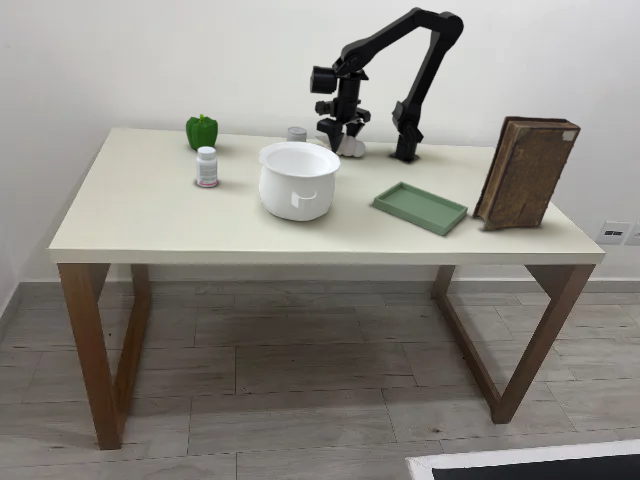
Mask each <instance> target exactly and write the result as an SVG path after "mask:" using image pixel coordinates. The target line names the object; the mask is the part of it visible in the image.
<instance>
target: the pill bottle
mask: <svg viewBox="0 0 640 480" xmlns="http://www.w3.org/2000/svg"><path fill="white" fill-rule="evenodd" d="M195 165H196V167H195V168H196V170H195V171H196V184H197V185H198V186H200V187H203V188H212V187H214V186H216V185H217V184H218V157H216V148H214V147H213V148H212V147H200V148H199V149H198V151H197V157H196V159H195Z"/></svg>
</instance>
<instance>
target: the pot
mask: <svg viewBox="0 0 640 480" xmlns="http://www.w3.org/2000/svg"><path fill="white" fill-rule="evenodd" d="M258 160H259V162H260V164H262V167H261V171H260V177H259V185H258V186H259V189H258V191H259V195H260V201H261V205H262V206H263V208H265V210H266V211H267V212H269V213H270V214H272V215H274V216H276V217H279V218H281V219H286V220H291V221H295V222H296V221H297V222H308V221H312V220H314V219H317V218H319V217H321V216H323V215H324V214H326V213H328V211H329V208H330V206H331V204H332V202H333V199H334V196H335V191H336V175H335V173H336V172H338V171H339V168H340V167H341V164H342V163H341V160H340V157H339V156H338V155H337V153H335V154H334V153H333V152H332V150H330V149H328V148H326V147H324V146H322V145H319V144H316V143H310V142H307V141H306V142H292V141H291V142H286V141H282V142H281V141H280V142H275V143H271V144H269V145H267V146H264V147H263V148H262V149H261V150H260V152H259V153H258Z"/></svg>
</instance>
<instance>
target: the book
mask: <svg viewBox="0 0 640 480" xmlns="http://www.w3.org/2000/svg"><path fill="white" fill-rule="evenodd" d="M581 130H582V128H581V127H580V126H579V125H578V124H575V123H573V122H571V121H570V120H568V119H566V118H557V117H532V116H531V117H528V116H520V115H505V116H504V119H503V122H502V124H501V127H500V130H499V131H500V133H499V137H498V140H497V143H496V146H495V151H494V153H493V157H492V160H491V163H490V165H489V168H488V171H487V174H486V177H485V180H484V183H483V186H482V189H481V191H480V194H479V195H480V196H479V197H478V201H477V202H476V204H475V207H474V209H473V212H472V215H471V217H472V218H473V219H474V218H482V220H483V221H484V224H483V226H482V230H483V231H497V230H504V229H505V230H507V229H517V228H522V229H523V228H525V229H534V228H535V229H536V228H538V227H540V226H542V225H541V224H542V222H543V221H544V220H543V219H544V216H545V214H546V212H547V209H549V204H550V202H551V199H552V197H553V195H554V194H555V189H556V187H557V185H558V182H559V180H560V179H561V175H562V173H563V171H564V169H565V167H566V165H567V164H568V159H569V158H570V154H571V152H572V150H573V148H574V147H575V143H576V141H577V139H578V137H579V135H580V134H581Z"/></svg>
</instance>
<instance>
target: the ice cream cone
mask: <svg viewBox="0 0 640 480" xmlns="http://www.w3.org/2000/svg"><path fill="white" fill-rule="evenodd" d="M314 137H315V138H316V139H317V140H319V141H320V142H321V143H323V144H324V145H326V146H327V147H328V148H329V149H331V146H330V141H329V138H328V135H327V134H325V135H315V136H314ZM366 151H367V146H366V144H365V143H364V141H362V140H359V139H356V138H354V137H352V136H347V134H346V133H345V134H344V136H343V139H342V141H341V143H340V146H339V148H338V150H337V152H336V154H338V155H339V156H341V155H343V156H344V157H351V156H353V157H355V158H359V157H363V156H364V155H365V154H366Z"/></svg>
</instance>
